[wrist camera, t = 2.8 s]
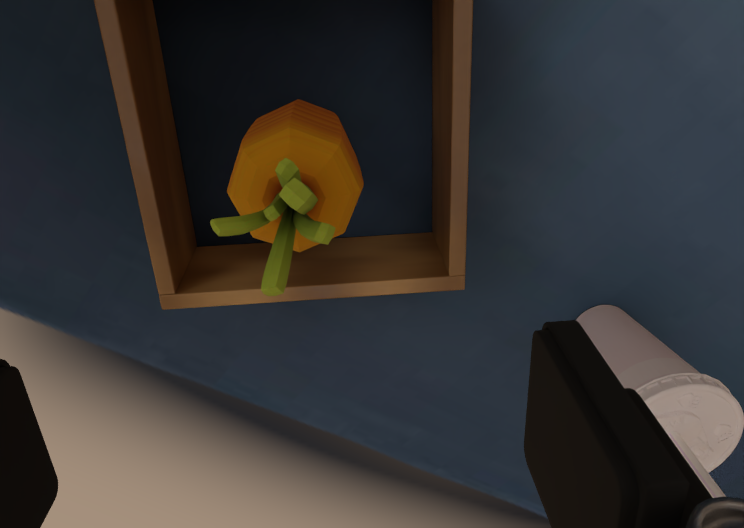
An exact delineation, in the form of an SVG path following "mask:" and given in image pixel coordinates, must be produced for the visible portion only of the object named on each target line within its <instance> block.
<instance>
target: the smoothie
mask: <svg viewBox="0 0 744 528" xmlns="http://www.w3.org/2000/svg"><path fill="white" fill-rule="evenodd" d="M576 321H578V322H579V323H580V325H581V326H582V328H583V329H584V330H585V332H586V333H587V335H588V336H589V338H590V339H591V341H592V342H593V344H594V345H595V346H596V348H597V349H598V351H599V352H600V354H601V355H602V357H603V358H604V360H605V361H606V362H607V364H608V365H609V367H610V368H611V370H612V371H613V373H614V374H615V376H616V377H617V378H618V380H619V381H620V383H621V384H622V386H623V387H624V388H631V389H633V390H635V391H636V392H637V393H638V394H639V395H640V396H641V398H642V399H643V401H644V402H645V403H646V405H647V406H648V408H649V409H650V410H651V412H652V413H653V415H654V416H655V417H656V419H657V420H658V422H659V423H660V425H661V426H662V427H663V429H664V430H665V432H666V433H667V434H668V436H669V437H670V439H671V440H672V441H673V443H674V444H675V446H676V447H677V448H678V450H679V451H680V453H681V454H682V455H683V457H684V458H685V460H686V461H687V462H688V464H689V465H690V467H691V468H692V469H693V471H694V472H695V474H696V475H697V476H698V478H699V479H700V481H701V482H702V484H703V485H704V486H705V488H706V489H707V491H708V492H709V493H710V495H711V496H712V498H717V497H726V496H725V495H724V493H723V492H722V491H721V489H720V488H719V487H718V485H717V484H716V483H715V481H714V480H713V479H712V477H711V476H710V475H709V472H710V471H712V470H713V469H715V468H716V467H717V466H719V465H720V464H721V463H722V462H723V461H724V460H725V459H726V458H727V457H728V456H729V455H730V454H731V453H732V451H733V450H734V449H735V447H736V446H737V444H738V442H739V440H740V438H741V435H742V432H743V427H744V415H743V411H742V408H741V406H740V404H739V403H738V401H737V400H736V399H735V398H734V397H733V396H732V395H731V393H730V391H729V389H728V388H727V387H726V386H725V385H723V384H722V383H721V382H720V381H719V380H717V379H715V378H712V377H710V376H708V375H706V374H700V373H699V372H698V371H697V370H696V369H695V368H693V367H692V366H691V365H689V364H688V363H687V362H686V361H684V360H683V359H682V358H681V357H679V356H678V355H677V354H676V353H675V352H673V351H672V350H671V349H670V348H668V347H667V346H666V345H665V344H663V343H662V342H661V341H660V340H659V339H657V338H656V337H655V336H654V335H652V334H651V333H650V332H649V331H647V330H646V329H645V328H644V327H643V326H641V325H640V324H639V323H638V322H636V321H635V320H634V319H633V318H631V317H630V316H629V315H628V314H627V313H625V312H624V311H623V310H622V309H620V308H618V307H616V306H612V305H599V306H595V307H592V308H590V309H588V310H586V311H585V312H583V313H582V314H581V315H580V316H579V317H578V318H577V319H576Z"/></svg>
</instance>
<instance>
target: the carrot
mask: <svg viewBox="0 0 744 528" xmlns="http://www.w3.org/2000/svg"><path fill="white" fill-rule="evenodd" d="M363 185H364V182H363V178H362V173H361V169H360V166H359V163H358V160H357V157H356V154H355V152H354V150H353V148H352V146H351V143H350V141H349V139H348V137H347V135H346V133H345V131H344V128H343V126H342V124H341V122H340V120H339V118H338V116H337V115H336V114H335V113H334V112H332V111H329V110H327V109H324V108H322V107H319V106H316V105H314V104H311V103H308V102H306V101H303V100H300V99H297V100H295V101H293V102H291V103H289V104H287V105H284V106H282V107H280V108H278V109H276V110H274V111H272V112H269V113H267V114H265V115H263V116H261V117H259V118H257V119H256V120H255V121H254V123H253V124H252V125H251V127H250V128H249V129H248V131H247V133H246V134H245V136H244V138H243V139H242V142H241V145H240V149H239V152H238V155H237V158H236V162H235V165H234V168H233V172H232V175H231V178H230V181H229V185H228V188H227V193H228V195H229V197H230V199H231V201H232V202H233V204H234V206H235V207H236V209H237V211H238V213H239V214H240V216H235V217H224V218H216V219H212V220H211V221H210V224H211V227H212V229H213V231H214V232H215V233H216V234H217V235H218V236H233V235H241V234H245V233H247V232H250V233H251V235H252V237H253V238H256V239H259V240H262V241H266V242H269V243H272V244H273V245H272V248H271V251H270V254H269V257H268V260H267V263H266V267H265V271H264V274H263V278H262V284H261V291H262V292H263V294H265V295H267V296H277V295H280V294H283V293H284V290H285V287H286V284H287V280H288V275H289V270H290V264H291V258H292V252H293V250H294V251H297V252H302V251H304V250H306V249H309V248H311V247H313V246H316V245H318V244H320V243H321V244H327V245H328V244H329V242H330V241H331V239H332V238H334V237H336V236H339V235H341V234H343V233H344V232H345V231H346V228H347V226H348V223H349V221H350V218H351V216H352V213H353V211H354V208H355V206H356V203H357V201H358V198H359V196H360V193H361V191H362V188H363Z"/></svg>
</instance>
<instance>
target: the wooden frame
mask: <svg viewBox="0 0 744 528" xmlns="http://www.w3.org/2000/svg"><path fill="white" fill-rule="evenodd" d="M94 3H95V8H96V12H97V17H98V21H99V26H100V30H101V35H102V39H103V44H104V48H105V53H106V58H107V62H108V67H109V71H110V76H111V80H112V85H113V89H114V94H115V98H116V103H117V107H118V112H119V116H120V121H121V126H122V130H123V135H124V139H125V144H126V148H127V153H128V157H129V162H130V166H131V171H132V175H133V180H134V184H135V189H136V193H137V198H138V203H139V207H140V212H141V216H142V221H143V225H144V230H145V234H146V239H147V243H148V248H149V252H150V257H151V261H152V266H153V270H154V275H155V280H156V284H157V289H158V293H159V298H160V303H161V307H162V309H163V310H164V309H179V308H194V307H209V306H224V305H240V304H255V303H270V302H285V301H300V300H315V299H330V298H345V297H360V296H375V295H390V294H405V293H420V292H435V291H450V290H464V289H465V267H466V232H467V198H468V163H469V129H470V95H471V60H472V26H473V0H433V6H432V232H428V233H412V234H396V235H380V236H364V237H348V238H332V239H331V241H330V242H329V244H328V245H327V244H321V243H320V244H318V245H316V246H313V247H311V248H309V249H306V250H304V251H302V252H297V251H294V250H293V252H292V258H291V264H290V270H289V275H288V280H287V284H286V287H285V290H284V293H283V294H280V295H277V296H267V295H265V294H263V292H262V291H261V284H262V278H263V274H264V271H265V267H266V263H267V260H268V257H269V254H270V251H271V248H272V245H273V244H272V243H269V242H268V243H252V244H236V245H220V246H204V247H197V242H196V237H195V232H194V226H193V221H192V215H191V210H190V204H189V199H188V193H187V188H186V182H185V177H184V171H183V166H182V160H181V155H180V149H179V144H178V138H177V133H176V127H175V122H174V116H173V111H172V105H171V100H170V94H169V89H168V83H167V78H166V72H165V67H164V61H163V56H162V50H161V45H160V39H159V34H158V28H157V23H156V17H155V12H154V6H153V1H152V0H94Z"/></svg>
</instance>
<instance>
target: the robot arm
mask: <svg viewBox="0 0 744 528" xmlns="http://www.w3.org/2000/svg"><path fill="white" fill-rule="evenodd" d="M524 452H525V458H526V462H527V465H528V468H529V470H530V473H531V475H532V478H533V481H534V483H535V486H536V488H537V491H538V494H539V496H540V499H541V501H542V504H543V506H544V509H545V512H546V514H547V517H548V519H549V522H550V525H551V527H552V528H744V499H741V498H733V497H717V498H712V496H711V495H710V493H709V492H708V491H707V489H706V488H705V486H704V485H703V484H702V482H701V481H700V479H699V478H698V476H697V475H696V474H695V472H694V471H693V469H692V468H691V467H690V465H689V464H688V462H687V461H686V460H685V458H684V457H683V455H682V454H681V453H680V451H679V450H678V448H677V447H676V446H675V444H674V443H673V441H672V440H671V439H670V437H669V436H668V434H667V433H666V432H665V430H664V429H663V427H662V426H661V425H660V423H659V422H658V420H657V419H656V417H655V416H654V415H653V413H652V412H651V410H650V409H649V408H648V406H647V405H646V403H645V402H644V401H643V399H642V398H641V396H640V395H639V394H638V393H637V392H636V391H635V390H633V389H631V388H624V387H623V386H622V384H621V383H620V381H619V380H618V378H617V377H616V376H615V374H614V373H613V371H612V370H611V368H610V367H609V365H608V364H607V362H606V361H605V360H604V358H603V357H602V355H601V354H600V352H599V351H598V349H597V348H596V346H595V345H594V344H593V342H592V341H591V339H590V338H589V336H588V335H587V333H586V332H585V330H584V329H583V328H582V326H581V325H580V323H579V322H578V321H576V320H572V321H557V322H546V323H545V324H544V325H543V328H542V330H540V331H535V332H534V334H533V339H532V351H531V364H530V376H529V388H528V401H527V413H526V425H525V438H524ZM57 491H58V479H57V476H56V473H55V470H54V467H53V464H52V462H51V459H50V456H49V453H48V450H47V448H46V445H45V442H44V439H43V436H42V433H41V431H40V428H39V425H38V422H37V419H36V417H35V414H34V411H33V408H32V405H31V403H30V400H29V397H28V394H27V392H26V389H25V386H24V383H23V380H22V377H21V375H20V372H19V370H18V369H17V368H16V367H13V366H11V367H10V365H9V364H8V363H7V362H6V361H5V360H2V359H0V528H40V527H41V525H42V523H43V521H44V519H45V518H46V515H47V514H48V512H49V510H50V508H51V506H52V504H53V502H54V500H55V498H56V495H57Z"/></svg>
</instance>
